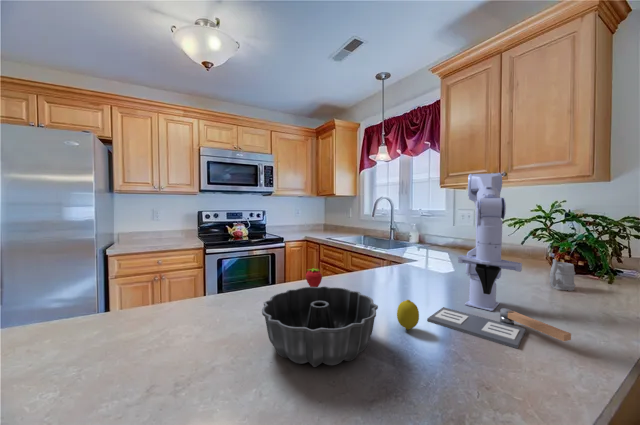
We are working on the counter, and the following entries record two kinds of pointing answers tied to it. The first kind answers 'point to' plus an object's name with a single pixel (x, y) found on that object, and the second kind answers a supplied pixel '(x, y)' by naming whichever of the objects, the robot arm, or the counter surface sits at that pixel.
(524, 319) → the bar
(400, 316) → the lemon
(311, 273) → the strawberry
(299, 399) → the counter surface
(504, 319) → the shiny grey curved piece
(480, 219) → the robot arm
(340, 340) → the bundt pan
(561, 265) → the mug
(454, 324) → the panel
